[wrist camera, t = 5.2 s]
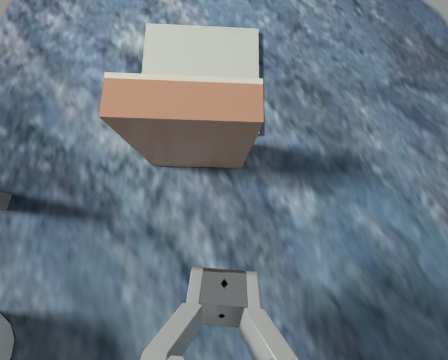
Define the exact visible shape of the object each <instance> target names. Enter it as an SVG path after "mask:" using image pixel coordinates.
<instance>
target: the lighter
mask: <svg viewBox="0 0 448 360" xmlns="http://www.w3.org/2000/svg"><path fill="white" fill-rule="evenodd" d="M11 197H12V195H11V194H8V193H2V192H0V210H6V209H8V206H9V203H10V200H11Z"/></svg>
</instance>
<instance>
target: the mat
mask: <svg viewBox="0 0 448 360" xmlns="http://www.w3.org/2000/svg"><path fill="white" fill-rule="evenodd" d="M142 74H161V75H186V76H211V77H236V78H259V35H258V29H253V28H232V27H211V26H190V25H169V24H148V23H146V33H145V44H144V54H143V65H142ZM259 134H260V131H259V133H258V135H259Z"/></svg>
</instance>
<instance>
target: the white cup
mask: <svg viewBox="0 0 448 360" xmlns="http://www.w3.org/2000/svg"><path fill="white" fill-rule="evenodd" d="M13 346H14V336H13V331H12V327H11V324H10V323H9V322H8V321H7V320H6V319H5V318H4V317H3V316H2V314H0V360H10V359H11V356H12V351H13Z"/></svg>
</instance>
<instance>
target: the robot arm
mask: <svg viewBox="0 0 448 360" xmlns="http://www.w3.org/2000/svg"><path fill="white" fill-rule="evenodd" d="M201 325H214V326H227V327H237V328H239V331H240V333H241V335H242V337H243V339H244V341H245V343H246V345H247V347H248V349H249V351H250V353H251V355H252V357H253V359H254V360H298V359H297V357H296V356H295V354H294V353H293V351H292V350H291V348H290V347H289V345H288V344H287V342H286V341H285V339H284V338H283V336H282V335H281V333H280V332H279V330H278V329H277V327H276V326H275V324H274V323H273V321H272V320H271V319H270V317H269V316H268V314H267V313H266V311H265V310H264V309H261V305H260V295H259V286H258V276H257V273H256V272H253V271H243V270H227V269H212V268H203V267H192V270H191V276H190V282H189V288H188V294H187V300H186V303H182V304H181V306H180V307H179V308H178V309H177V310H176V312H175V313H174V314H173V315H172V317H171V318H170V319H169V320H168V321H167V323H166V324H165V325H164V326H163V328H162V329H161V330H160V331H159V332H158V334H157V335H156V336H155V337H154V339H153V340H152V341H151V342H150V343H149V345H148V346H147V347H146V348H145V350H144V351H143V352H142V356H141V359H140V360H184V358H183V357H182V356H183V354H184V353H185V351H186V349H187V348H188V346H189V345H190V343H191V341H192V340H193V338H194V337H195V335H196V334H197V332H198V330H199V329H200V327H201Z"/></svg>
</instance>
